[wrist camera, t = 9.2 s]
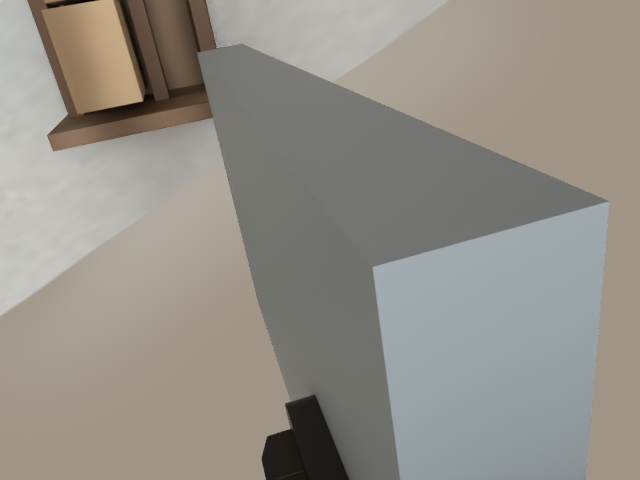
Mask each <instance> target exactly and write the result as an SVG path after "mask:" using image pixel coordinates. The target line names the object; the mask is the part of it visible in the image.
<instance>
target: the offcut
mask: <svg viewBox="0 0 640 480" xmlns="http://www.w3.org/2000/svg"><path fill="white" fill-rule="evenodd" d="M41 11H42V14H43V17H44V20H45V23H46V25H47V28H48V31H49V34H50V37H51V40H52V42H53V45H54V48H55V51H56V54H57V57H58V60H59V62H60V65H61V68H62V71H63V74H64V77H65V80H66V82H67V85H68V88H69V91H70V94H71V97H72V100H73V102H74V105H75V108H76V111H77V114H82V113H87V112H92V111H97V110H102V109H107V108H112V107H117V106H122V105H127V104H132V103H137V102H142V101H143V100H144V95H145V91H146V87H147V81H146V77H145V74H144V70H143V67H142V64H141V60H140V57H139V53H138V50H137V46H136V43H135V39H134V36H133V32H132V29H131V25H130V22H129V18H128V15H127V11H126V8H125V4H124V2H121V1H119V0H99V1H93V2H87V3H80V4H74V5H68V6H62V7H56V8H50V9H44V10H41Z"/></svg>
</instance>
